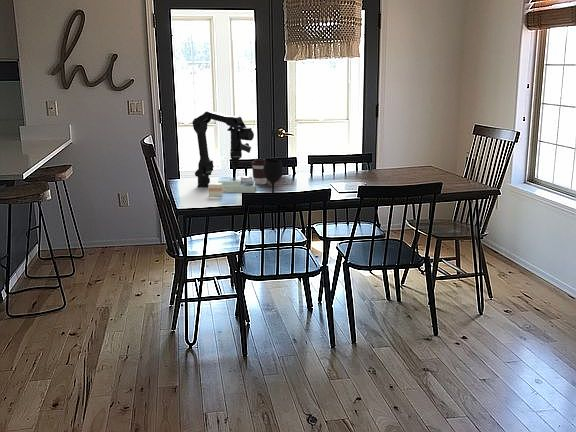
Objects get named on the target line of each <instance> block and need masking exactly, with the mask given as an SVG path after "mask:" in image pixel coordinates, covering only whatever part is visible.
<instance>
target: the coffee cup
mask: <svg viewBox="0 0 576 432" xmlns="http://www.w3.org/2000/svg"><path fill="white" fill-rule="evenodd" d="M265 161H266V159H265V158H254V159H253V161H250V162H251V166H252V168H251V169H252V179H253V181H255V185H266V184H267V179H266V178H265V176H264V173H263V166H264V162H265Z"/></svg>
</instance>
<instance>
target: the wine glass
mask: <svg viewBox="0 0 576 432" xmlns="http://www.w3.org/2000/svg"><path fill="white" fill-rule="evenodd" d="M283 171H284V167H283V161H282V160H279V159H267V160H266V161H265V162H264V166H263V173H264V176H265V178H266V181H268V182H269V183H270V184H271V187H272V188H271V194H272V193H274V194H275V184H276V183H277V182H278V181H279V180H280V179H281V178H282V176H283V174H284V172H283Z"/></svg>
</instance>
